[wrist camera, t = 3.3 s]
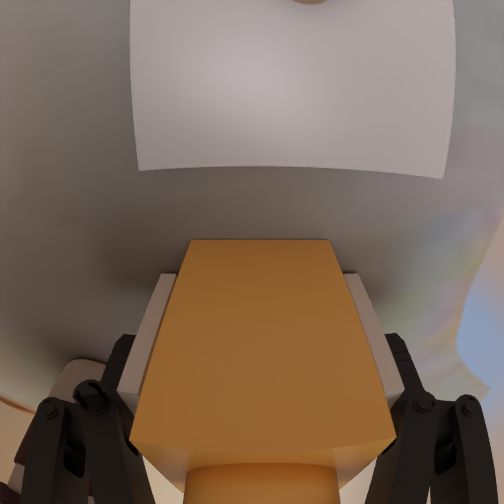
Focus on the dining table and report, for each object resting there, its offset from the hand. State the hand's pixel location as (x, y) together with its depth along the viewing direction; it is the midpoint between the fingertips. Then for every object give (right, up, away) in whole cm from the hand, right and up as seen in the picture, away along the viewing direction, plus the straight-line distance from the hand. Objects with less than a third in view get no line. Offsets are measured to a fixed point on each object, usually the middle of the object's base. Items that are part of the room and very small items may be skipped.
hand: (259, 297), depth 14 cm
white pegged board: (+1, +12, -7) cm, 14 cm away
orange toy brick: (0, 0, 0) cm, 0 cm away
